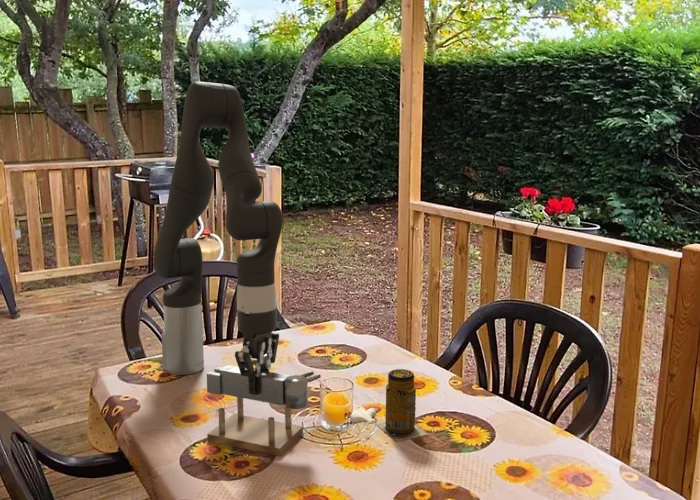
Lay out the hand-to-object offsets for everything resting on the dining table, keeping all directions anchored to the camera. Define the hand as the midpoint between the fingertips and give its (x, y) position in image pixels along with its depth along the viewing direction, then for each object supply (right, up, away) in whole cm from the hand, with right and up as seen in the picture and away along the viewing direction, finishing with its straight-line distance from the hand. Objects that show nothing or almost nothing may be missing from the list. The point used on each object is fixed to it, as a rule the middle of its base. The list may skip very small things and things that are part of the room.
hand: (259, 390), depth 133 cm
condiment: (+28, -9, +6) cm, 30 cm away
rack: (-1, -10, +2) cm, 10 cm away
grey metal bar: (-1, -1, +1) cm, 2 cm away
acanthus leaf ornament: (+20, -9, +12) cm, 25 cm away
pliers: (+1, -5, +29) cm, 30 cm away
